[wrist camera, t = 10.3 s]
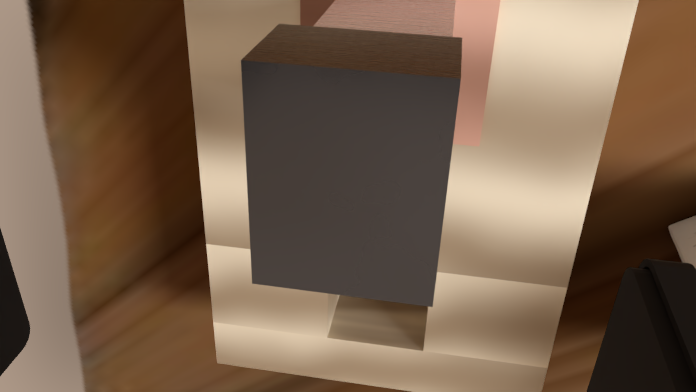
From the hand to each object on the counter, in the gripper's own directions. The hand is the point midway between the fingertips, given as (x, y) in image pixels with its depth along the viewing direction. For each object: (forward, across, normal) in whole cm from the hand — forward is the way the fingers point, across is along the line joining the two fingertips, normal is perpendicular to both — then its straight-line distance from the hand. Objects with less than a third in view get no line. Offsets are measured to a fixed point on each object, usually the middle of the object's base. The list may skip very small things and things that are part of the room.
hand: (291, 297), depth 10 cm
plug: (+16, 0, +1) cm, 16 cm away
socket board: (+22, 0, +7) cm, 23 cm away
